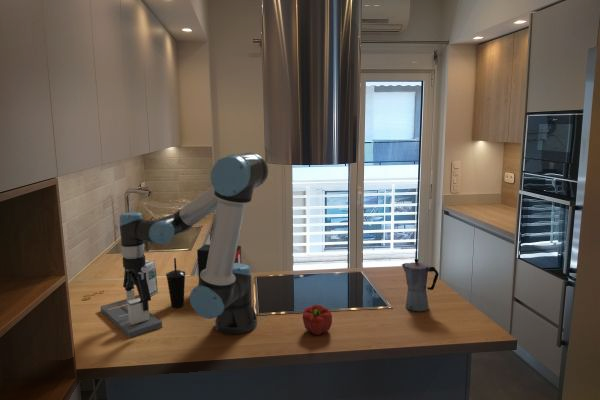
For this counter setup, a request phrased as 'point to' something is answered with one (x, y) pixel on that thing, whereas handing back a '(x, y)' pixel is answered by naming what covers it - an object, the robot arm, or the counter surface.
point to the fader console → (121, 319)
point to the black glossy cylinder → (176, 286)
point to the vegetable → (317, 319)
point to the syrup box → (150, 276)
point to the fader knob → (134, 311)
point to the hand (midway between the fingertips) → (138, 312)
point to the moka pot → (418, 285)
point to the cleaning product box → (203, 257)
